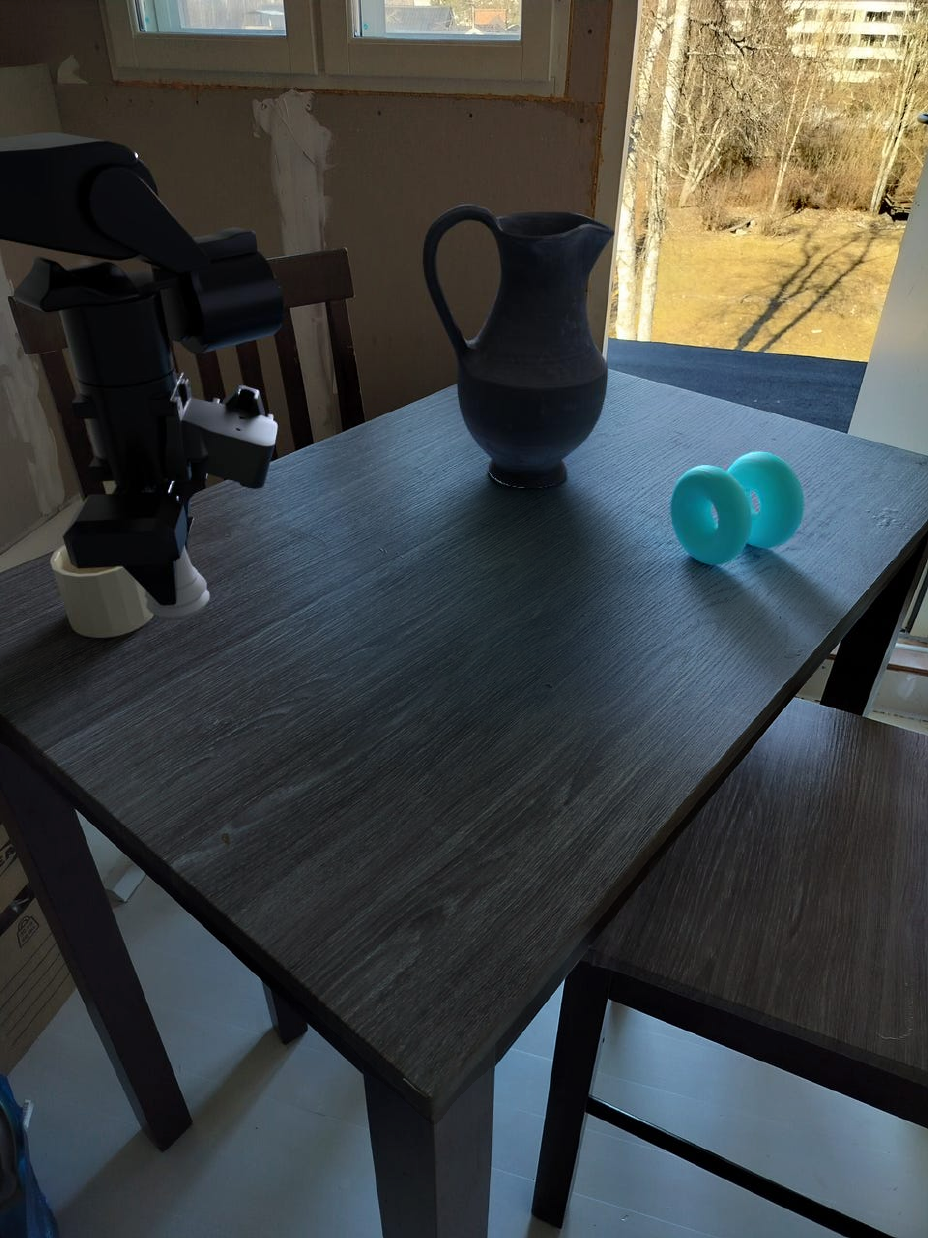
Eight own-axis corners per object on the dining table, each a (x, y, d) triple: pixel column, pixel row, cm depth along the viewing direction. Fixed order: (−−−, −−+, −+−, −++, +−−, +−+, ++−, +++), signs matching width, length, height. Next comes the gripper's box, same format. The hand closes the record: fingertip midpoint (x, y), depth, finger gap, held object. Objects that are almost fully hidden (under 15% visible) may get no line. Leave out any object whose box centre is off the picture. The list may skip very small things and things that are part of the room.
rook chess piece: (204, 583, 64) (185, 486, 60) (216, 613, 61) (197, 514, 56) (143, 596, 63) (118, 498, 58) (152, 628, 59) (126, 527, 55)
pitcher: (614, 500, 98) (648, 216, 81) (436, 512, 95) (431, 222, 78) (575, 440, 112) (597, 187, 95) (419, 449, 109) (411, 191, 92)
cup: (60, 641, 75) (40, 579, 72) (80, 594, 81) (62, 535, 78) (149, 634, 76) (133, 573, 72) (162, 588, 82) (148, 529, 79)
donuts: (658, 540, 90) (671, 453, 85) (728, 519, 94) (746, 434, 89) (723, 585, 83) (743, 493, 78) (797, 560, 87) (821, 471, 81)
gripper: (246, 424, 45) (280, 658, 54) (270, 323, 60) (294, 519, 69) (26, 432, 44) (99, 670, 53) (108, 328, 59) (153, 526, 68)
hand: (174, 586), depth 61 cm, fingers closed on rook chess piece, 4 cm apart
